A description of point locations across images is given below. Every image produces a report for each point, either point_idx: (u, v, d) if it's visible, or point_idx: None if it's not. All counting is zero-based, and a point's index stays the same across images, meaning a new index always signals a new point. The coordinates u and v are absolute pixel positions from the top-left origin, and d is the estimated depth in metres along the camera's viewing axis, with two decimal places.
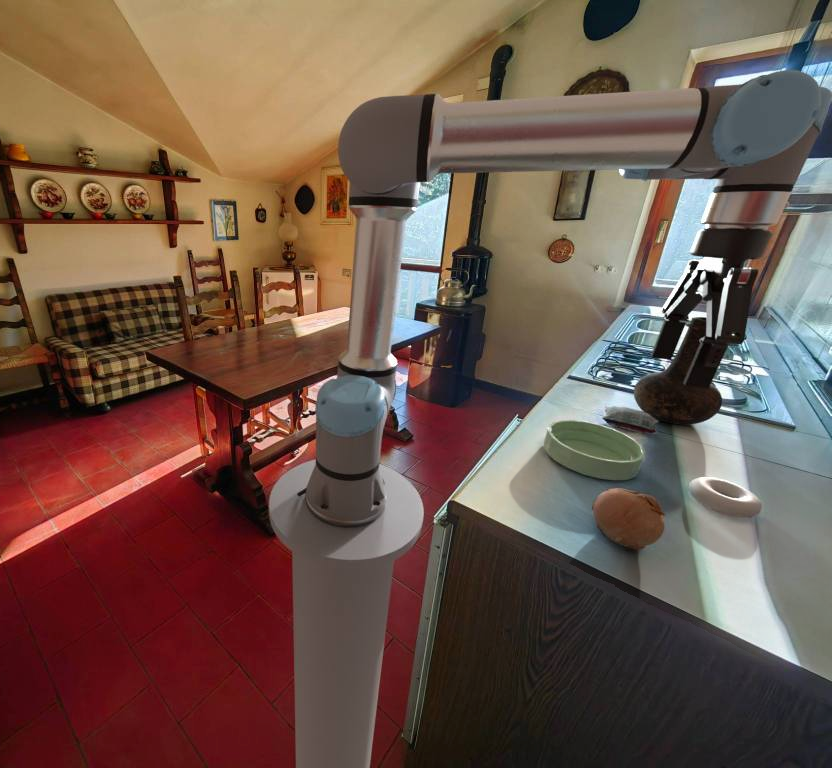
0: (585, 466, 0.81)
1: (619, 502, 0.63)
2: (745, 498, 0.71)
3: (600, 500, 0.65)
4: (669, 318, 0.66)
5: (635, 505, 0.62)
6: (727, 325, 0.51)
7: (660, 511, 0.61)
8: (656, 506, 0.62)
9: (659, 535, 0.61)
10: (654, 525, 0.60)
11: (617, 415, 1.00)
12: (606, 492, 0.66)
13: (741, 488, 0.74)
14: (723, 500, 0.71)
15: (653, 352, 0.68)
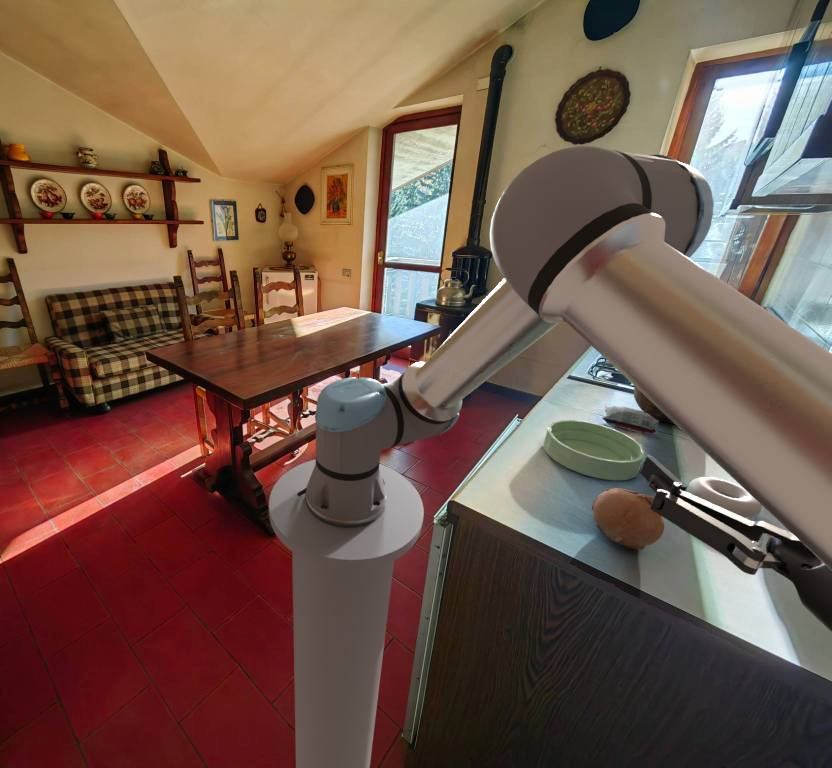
0: (585, 466, 0.81)
1: (619, 502, 0.63)
2: (745, 498, 0.71)
3: (600, 500, 0.65)
4: None
5: (635, 505, 0.62)
6: (674, 506, 0.43)
7: None
8: None
9: (659, 535, 0.61)
10: (654, 525, 0.60)
11: (617, 415, 1.00)
12: (606, 492, 0.66)
13: (741, 488, 0.74)
14: (723, 500, 0.71)
15: None
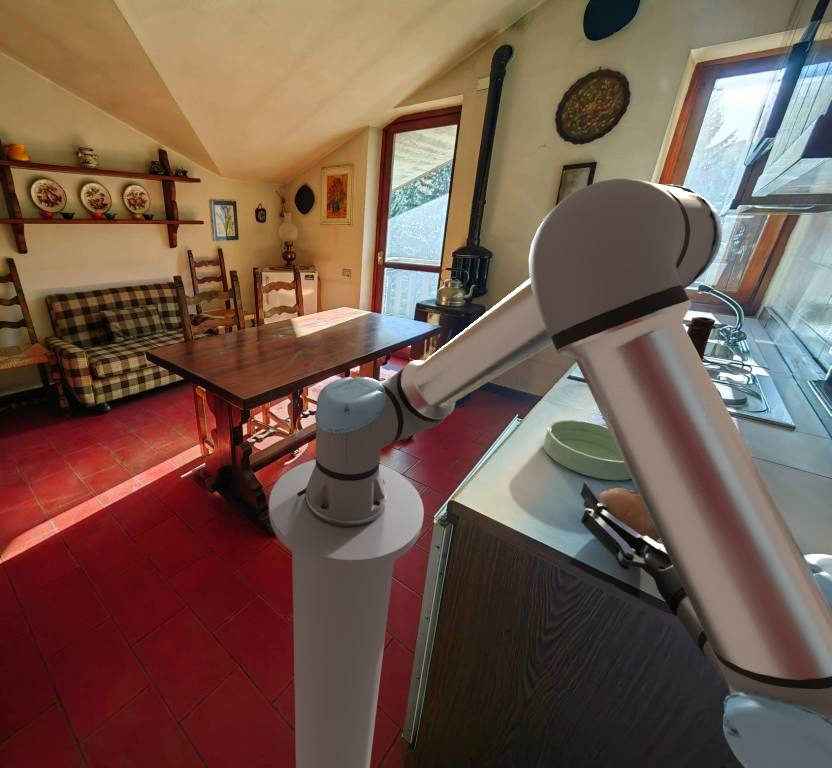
0: (585, 466, 0.81)
1: (618, 502, 0.63)
2: None
3: None
4: None
5: (635, 505, 0.62)
6: (593, 521, 0.61)
7: None
8: None
9: None
10: None
11: None
12: (606, 492, 0.66)
13: None
14: None
15: None
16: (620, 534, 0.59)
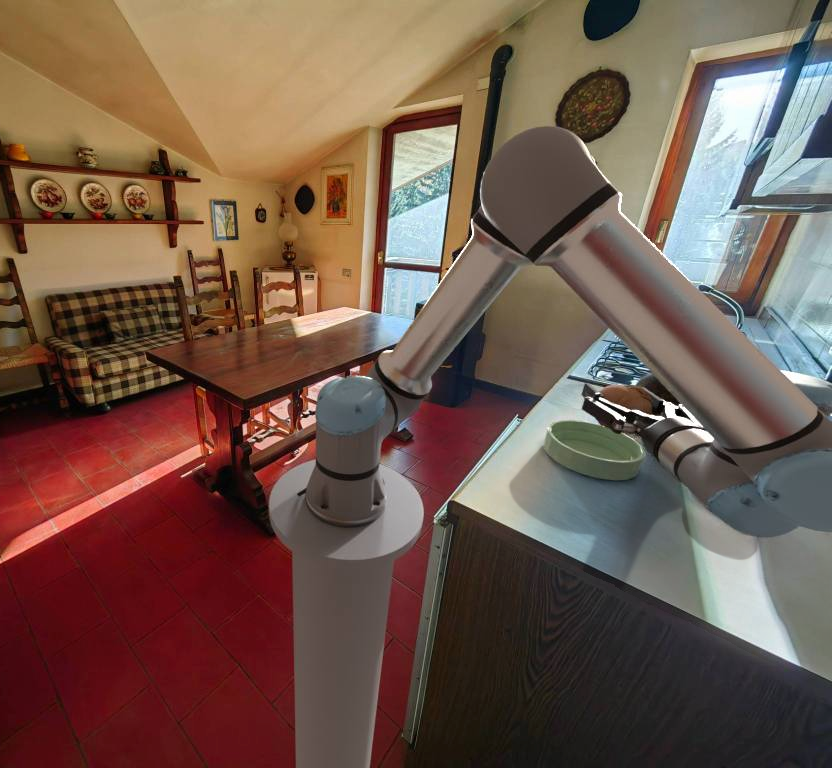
0: (585, 466, 0.81)
1: (613, 392, 0.74)
2: None
3: None
4: (664, 404, 0.72)
5: (627, 393, 0.73)
6: (591, 404, 0.72)
7: (648, 398, 0.73)
8: (645, 394, 0.73)
9: None
10: (643, 407, 0.71)
11: None
12: (603, 388, 0.77)
13: None
14: None
15: None
16: None
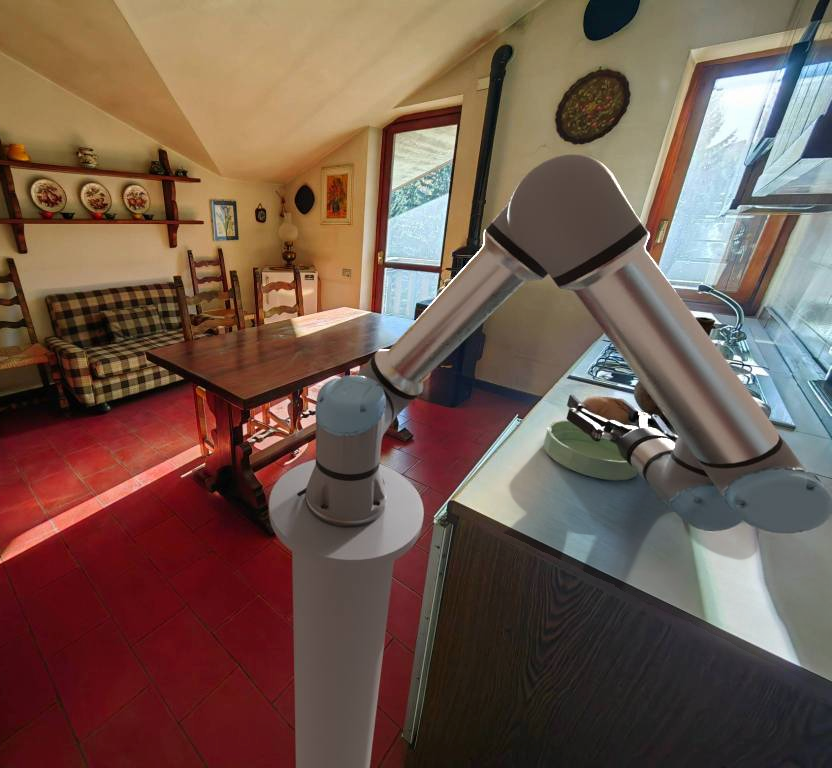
0: (585, 466, 0.81)
1: (594, 403, 0.83)
2: None
3: None
4: (639, 414, 0.81)
5: (606, 404, 0.82)
6: (575, 415, 0.81)
7: (625, 408, 0.82)
8: (622, 405, 0.82)
9: None
10: (620, 417, 0.80)
11: None
12: (586, 399, 0.86)
13: None
14: None
15: (622, 400, 0.86)
16: None
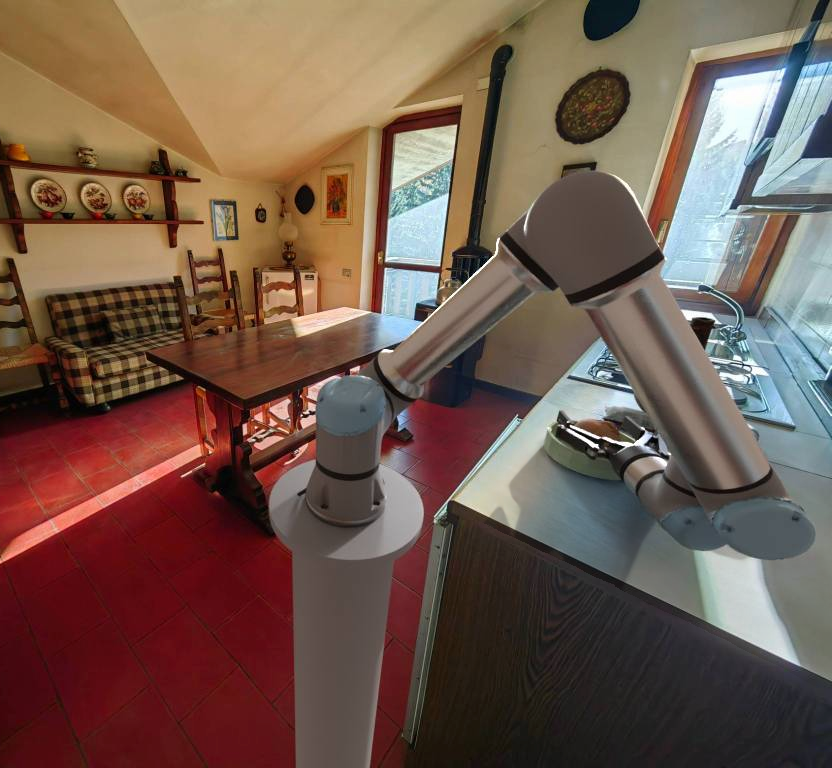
0: (585, 466, 0.81)
1: (587, 426, 0.85)
2: None
3: None
4: (645, 434, 0.81)
5: (599, 427, 0.84)
6: (565, 432, 0.81)
7: (617, 432, 0.84)
8: (614, 428, 0.84)
9: None
10: None
11: (617, 415, 1.00)
12: (579, 422, 0.88)
13: None
14: None
15: (628, 418, 0.86)
16: None
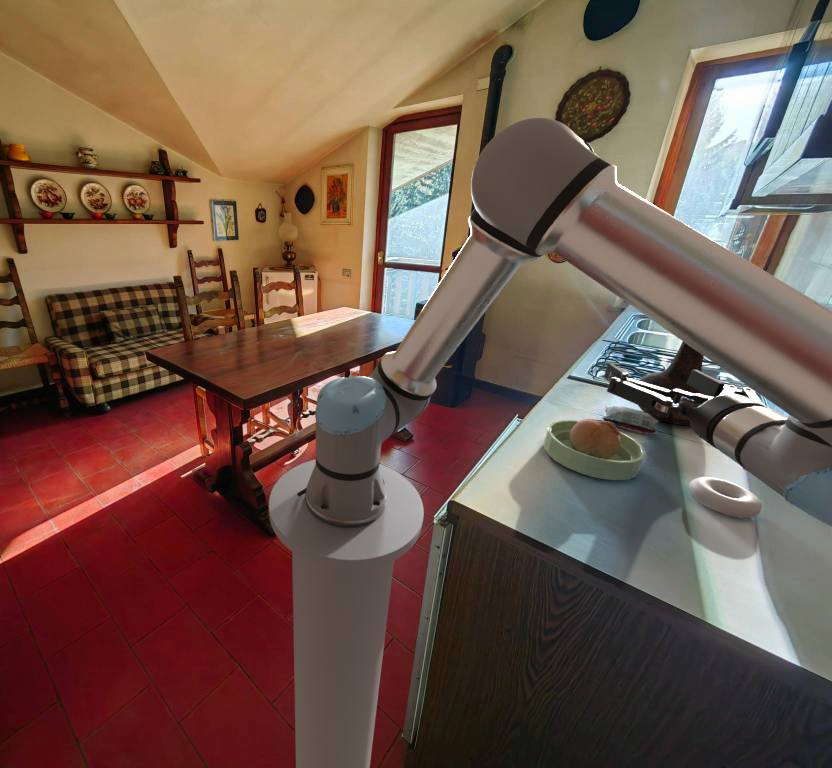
0: (585, 466, 0.81)
1: (587, 426, 0.85)
2: (745, 498, 0.71)
3: (574, 427, 0.88)
4: (725, 387, 0.63)
5: (599, 427, 0.84)
6: (621, 386, 0.63)
7: (617, 432, 0.84)
8: (614, 428, 0.84)
9: (616, 449, 0.83)
10: (612, 441, 0.82)
11: (617, 415, 1.00)
12: (579, 422, 0.88)
13: (741, 488, 0.74)
14: (723, 500, 0.71)
15: (697, 371, 0.68)
16: None
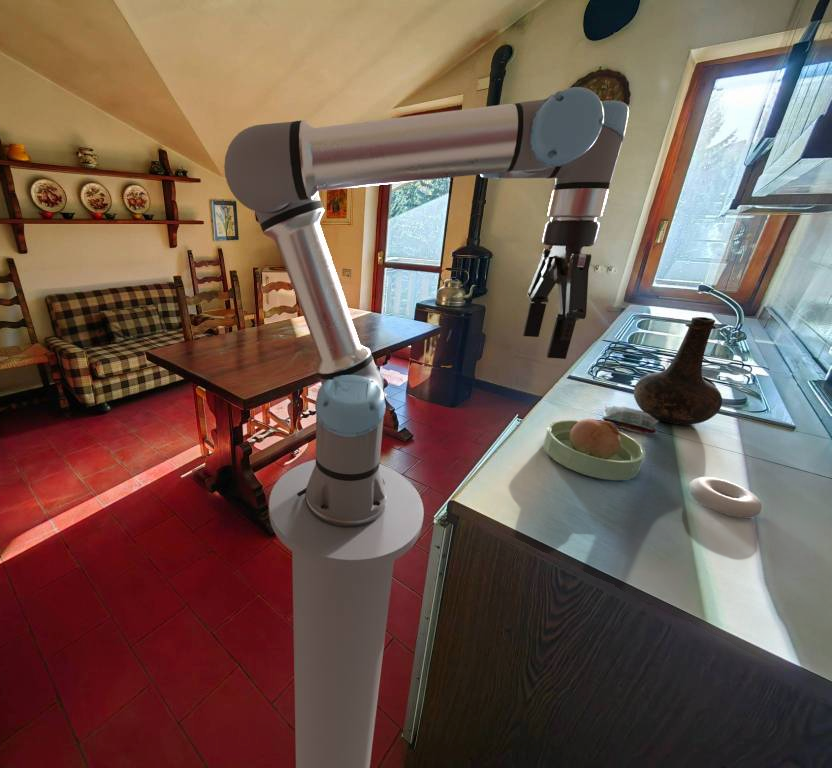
0: (585, 466, 0.81)
1: (587, 426, 0.85)
2: (745, 498, 0.71)
3: (574, 427, 0.88)
4: (533, 300, 0.75)
5: (599, 427, 0.84)
6: (573, 303, 0.59)
7: (617, 432, 0.84)
8: (614, 428, 0.84)
9: (616, 449, 0.83)
10: (612, 441, 0.82)
11: (617, 415, 1.00)
12: (579, 422, 0.88)
13: (741, 488, 0.74)
14: (723, 500, 0.71)
15: (524, 331, 0.77)
16: None
